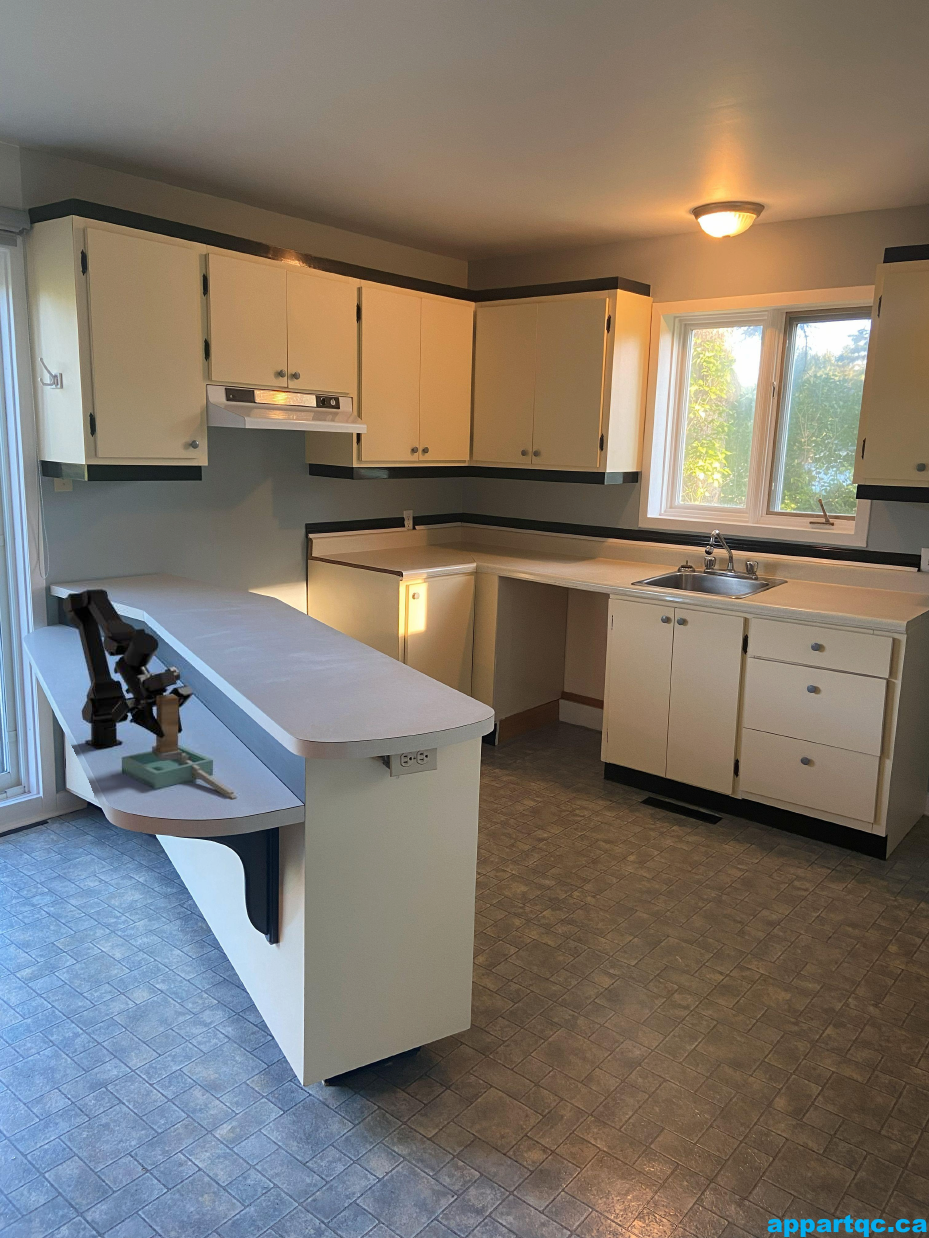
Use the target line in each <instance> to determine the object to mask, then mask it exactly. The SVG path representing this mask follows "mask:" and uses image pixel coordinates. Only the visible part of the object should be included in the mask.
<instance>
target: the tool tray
mask: <svg viewBox="0 0 929 1238" xmlns="http://www.w3.org/2000/svg"><path fill="white" fill-rule="evenodd" d="M178 749H179V750H180V751H182V753H186V755H189V756H188V760H190V761H191V762H193V763H191V764H186V765H182V766H178V763H179V759H173V760H166V761H161V760H160V759H159V758H158V757H156V756H155V755H154V754H153V753H152V750H148V751H145V752H139V753H134V754H130V755H126V756H122V757H121V773H122V772H123V773H122V774H124V773H125V774H124V775H126V776H128V775H129V777H130V778H132V777H133V779H134V780H136V779H137V781H138V782H141V783H143V784H144V783H145V784H144V785H146V784H147V786H149V787H151V788H153V789H155V790H159V789H163V788H167V787H171V786H175V785H177V784H182V783H186V782H190V781H193V780H195V779H194V778H193V777H192V765H197V766H199V767H200V768H201V770H202V771H203V772H205V773H206V774H208V775H209V776H212V775H214V760H213V759H212V758H210V757H207V756H205V755H203V754H201V753H198V752H196V751H194V750H191V749H189V748H187V747H184V746H181V745H179V744H178Z"/></svg>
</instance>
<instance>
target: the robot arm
mask: <svg viewBox="0 0 929 1238" xmlns="http://www.w3.org/2000/svg"><path fill="white" fill-rule="evenodd" d="M62 608H63V612H65V614H66V616H67V619H68V622H69V623H70V624H72V625H73V626H74V627H75V628H76V630H77V631H78V635H79V639H80V643H81V647H82V651H83V655H84V660H85V664H86V667H87V668H86V669H87V672H88V676H89V681H90V686H89V688H88V691H87V693H86V701H85V703H84V705H83V707H82V709H81V716H82V720H83V721H84V722H86V723H88V724H89V725H90V739H86V740H84V743H85V744H87V745H89V746H92V747H93V748H95V749H104V748H108V747H113V746H118V745H119V746H120V745H123V743H124V742H123V741H122V740H120V739H118V737H117V736H118V735H117V733H118V732H117V731H118V729H117V724H119V723H124V722H127V720H128V719H129V714H130V717H131V718H130V720H129V723H130V724H135V725H137V726H139V727H141V728H143V729H145V730H147V731H148V732H149V733H151V734H153V735H155V737H156V736H158V737H160V738H163V737H164V736H165V735H164V732H163V730H162V728H161V726H160V725H159V723H158V721H157V719H156V716H155V713H154V708H156V696H157V695H164V694H165V693H166V692H168V690H169V687H171V686H173V685H174V686H176V685H177V684H178V683H177V682H178V681H180V680H181V675H180V671H179V670H178V669H177V667H176V666H172V667H168V668H166V669H164V671H163V672H159V673H158V672H157V673H156V672H152V673H151V671H150V670H149V668H148V665H150V663H151V661H152V659H153V657H154V656H155V653H156V652H157V650H158V648H159V640H158V639H157V638H155V636H153V634H151V633H149V632H148V633H147V632H146V631H145V629H144V628H138V629H137V628H135V627H134V626H133V625H132V624H130V623H127V622H125V621H123V619H122V617H121V616H120V614H119V612H118V611H117V609H116V608H115V607H114V604H113V603H112V601H111V600H110V599H109V594H108V591H106V589H103V588H102V589H101V588H99V589H98V588H96V589H95V588H94V589H86V590H83V591H81V592H77V593H76V592H73V593H69V594H68V595H67V596H65V598H63V601H62ZM101 630H102V633H103V634H104V635H103V638H102V634H101ZM106 652H107V654H106ZM107 655H108V656H110V657H119V656H120V657H119V658H118V659H117V660H116V661H115V662H114V664H115V666H114V668H113V673H114V674H115V675H117V674H119V675H120V676H121V678H122V680H123V682H124V683H125V685H126V686H127V687H126V689H125V690H123V685H122V682H121V681H120V680H119V679H118V680H115V679H114V678H113V677H112V675H111V670H110V667H109V662H108V658H107ZM124 691H125V693H126V694H125V693H124ZM130 694H131V696H132V697H127V696H126V695H130ZM168 694H174V695H175V696H177V697H178V698H179V704H178V734H181V733H182V732H183V727H182V726H183V725H182V721H181V715H180V709H181V707H183V706H184V705H185V704H186V703H187V702H188V701H189V699H191V698H192V696H193V695H194V692H193V690H192V689H191V687H190V686H189V685H186V684H185V685H182V686H181V685H180V686H177V687H172V689H171V690H170V692H169V693H168Z"/></svg>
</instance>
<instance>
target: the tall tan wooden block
mask: <svg viewBox="0 0 929 1238" xmlns="http://www.w3.org/2000/svg"><path fill="white" fill-rule="evenodd" d="M178 704H179V698H178V697H177V696H175V695H174V694H169V693H167V694H163V695H157V696H156V707H155V708H156V710H155V711H156V713H155V714H156V716H155V718H156V719H157V721H158V723H159V725H160V726H161V728H162V730H163V732H164V735H165V736H164V737H163V738H160V737H158V736H156V735H155V737H156V738H155V745H153V746H152V747H151V751H152V753H153V754H154V755H155V756H156V757H158V758H159V759H160V760H161V761H166V760H173V759H180V758H182V751H180V750H179V749H178V745H179V733H178Z"/></svg>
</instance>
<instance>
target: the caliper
mask: <svg viewBox="0 0 929 1238" xmlns="http://www.w3.org/2000/svg"><path fill="white" fill-rule="evenodd" d="M188 756H189V755H186V753H182V758H180V759H179V763H178V766H182V765H186V764H191V763H193V762H191V761H190V760H188ZM192 777H193V778H194V780H197V779H199V780H201V781H202V782H204V783H205V784H207V785H208V786H209V787H211V788H212V789H213V790H215V791H217V792H218V793H220V794H221V795H223V796H225V797H227V798H231V799H232V800H233V799H236V798H238V797H237V794H235V793H234V790H232V789H230V788H229V787H228V786H226V785H224V784H223V783H221V782H220V781H219V780H217V779H216V778H214V777H213V776H212V775H210V776H209V775H208V774H206V773H205V772H203V771H202V770H201V768H200V767H199V766H197V765H192Z"/></svg>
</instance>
